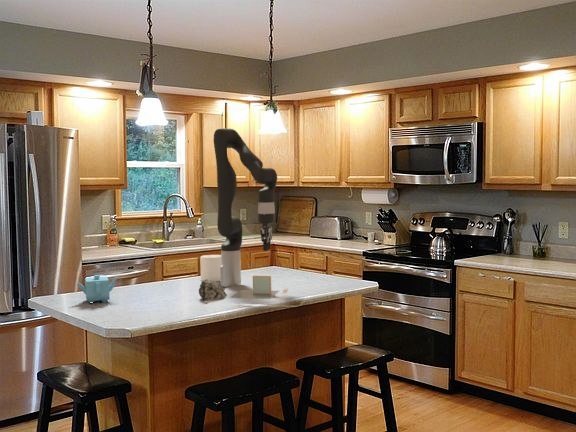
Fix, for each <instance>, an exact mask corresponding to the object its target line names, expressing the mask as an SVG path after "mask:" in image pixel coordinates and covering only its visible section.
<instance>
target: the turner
mask: <svg viewBox="0 0 576 432" xmlns="http://www.w3.org/2000/svg"><path fill="white" fill-rule="evenodd" d="M288 290H289V289H288V288H283V291H281V294H286V293H287V291H288Z"/></svg>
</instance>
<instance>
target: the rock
mask: <svg viewBox="0 0 576 432" xmlns="http://www.w3.org/2000/svg"><path fill="white" fill-rule="evenodd" d="M198 295H199V296H200V298H202V300H203V301H208V300H215V299H216V300H220V299H225V298H226V297H227V296H228V294H227V293H226V289H225V288H224V286H221V282H219V281H212V280H210V281H208V280H207V279H206V280H205V281H202V280H201V283H200V285H199V289H198Z"/></svg>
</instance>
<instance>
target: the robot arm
mask: <svg viewBox="0 0 576 432" xmlns="http://www.w3.org/2000/svg"><path fill="white" fill-rule="evenodd" d="M213 145H214V146H213V149H214V154H215V161H216V162H215V163H216V179H217V180H216V183H217V184H216V185H217V202H218V203H217V226H216V227H217V231H218V233H219V234H220V236H222V237H224V238H225V240H224V242H223V243H222V244H221V246H220V252H221V253H220V255H221V263H222V266H221V267H220V282H219V283H220V284H221V286H223V288H224V287H225V288H229V287H231V286H241V285H242V265H241V263H242V261H241V257H242V255H241V253H242V252H241V247H242V243H243V223H242V221H241V219H240V218H239V217H238V216H233V215H232V206H233V203H234V199H235V197H236V194H237V190H238V189H237V188H238V186H237V185H238V184H237V183H238V182H237V181H238V179H237V174H236V171H235V170H234V168H233V165H232V164H231V162H230V160H229V157H228V150H227V149H232V150H234V151H235V152H237V153H238V157H239V160H240V162H241V165H243V166H244V167H245V168H246V169H247V170H248V171H249V173H250V174H251V176H252V178H253V179H254V181H255V182H256V183H258V184H260V185H264V186H263V188H261V189H259V191H258V194H257V195H258V196H257V197H258V203H257V222H258V223H259V224H262V227H261V229H260V239H261V241H260V242H262V247H263V248H262V250H263V252H267V251H268V252H269V251H271V241H272V238H273V226H272V225H271V224H274V223H275V222H276V219H275V218H276V215H275V213H276V211H275V210H276V209H275V190H276V187H277V182H278V174H277V171H276V170H275V168H272V167H269V168H268V167H265V168H264V167H263V166H264V163H263V161H262V160H261V159H260V157H258V156H257V155H256V154H255V153H254V152H253V151H252V150H251V149H250V148H249V146H248V145H247V144H246V143H245V141H244V139H243V138H242V137H241V136H240V134H239V133H238V132H237V130H235V129H233V128H225V127H224V128H222V127H221V128H220V127H219V128H217V129H215V131H214V133H213Z"/></svg>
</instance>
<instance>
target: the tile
mask: <svg viewBox="0 0 576 432" xmlns="http://www.w3.org/2000/svg"><path fill="white" fill-rule="evenodd" d="M252 290H253V294H271V291H272V275H255V274H254V275H252Z"/></svg>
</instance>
